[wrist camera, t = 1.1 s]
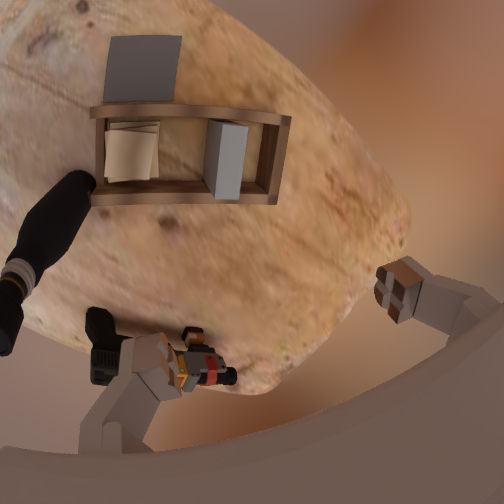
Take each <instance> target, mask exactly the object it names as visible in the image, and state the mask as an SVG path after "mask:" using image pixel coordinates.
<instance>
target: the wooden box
mask: <svg viewBox="0 0 504 504" xmlns="http://www.w3.org/2000/svg"><path fill="white" fill-rule="evenodd" d="M126 116H184V117H205V118H219V119H231V120H241V121H250V122H259V123H264V129H263V135H262V142H261V149H260V155H259V162H258V169H257V176H256V182H255V183H251V182H241V187H240V194H239V200H233V199H214V197H213V195H212V193H211V192H210V190H209V188H208V186H207V184H206V183H205V181H125V182H111V183H109V182H107V181H106V177H104V171H105V161H106V146H105V131H107V117H126ZM93 118H97V119H96V188H95V189H94V191H93V192H92V194H91V195H90V197H91V206H107V205H134V204H264V205H277V200H278V194H279V188H280V183H281V177H282V171H283V166H284V160H285V154H286V148H287V142H288V136H289V130H290V124H291V118H292V117H291V116H285V115H280V114H273V113H267V112H260V111H252V110H244V109H235V108H225V107H213V106H199V105H177V104H131V105H109V106H96V107H90V119H93Z"/></svg>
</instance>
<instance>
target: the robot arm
mask: <svg viewBox="0 0 504 504" xmlns="http://www.w3.org/2000/svg"><path fill="white" fill-rule="evenodd" d="M376 277H377V278H378V281H377V282H376V284H375V287H374V294H375V297H376V300H377V302H378V303H379V305H380V306H381V307H383V308H386V309H388V315H389V316H390V317H391V318H392V319H393V320H394V321H395V323H396V324H399V323H401V322H403V321H406V320H408V319H410V318H412V317H413V318H414V319H416V320H418V321H421V322H423V323H425V324H427V325H429V326H431V327H433V328H436V329H437V330H440V331H442V332H444V333H446V334H448V335H450V336H449V338H448V340H447V342H446V346H445V347H444V348H442V349H441V350H439V351H438V352H436V353H435V354H433V355H432V356H430V357H428V358H427V359H425V360H423V361H422V362H420V363H418V364H417V365H415V366H414V367H412V368H410V369H408V370H407V371H405V372H403V373H401V374H399V375H397V376H396V377H394V378H392V379H390V380H388V381H386V382H384V383H382V384H380V385H378V386H376V387H374V388H372V389H370V390H368V391H366V392H364V393H362V394H360V395H358V396H355V397H353V398H351V399H349V400H347V401H344V402H342V403H340V404H338V405H335V406H332V407H330V408H327V409H325V410H323V411H320V412H317V413H315V414H312V415H309V416H307V417H304V418H301V419H298V420H295V421H292V422H289V423H286V424H283V425H280V426H277V427H274V428H270V429H267V430H264V431H260V432H256V433H253V434H249V435H245V436H242V437H237V438H233V439H229V440H224V441H219V442H215V443H210V444H204V445H199V446H193V447H187V448H181V449H173V450H165V451H157V452H155V451H153V450H152V449H151V448H150V447H148V446H147V445H146V444H144V443H143V442H142V440H143V438H144V436H145V434H146V432H147V430H148V427H149V425H150V423H151V421H152V419H153V417H154V415H155V412H156V410H157V408H158V406H159V404H160V402H161V401H166V400H170V399H175V398H179V397H182V394H181V384H180V381H179V379H178V377H177V375H178V373H179V365H178V361H177V357H176V355H175V352H174V350H173V348H172V347H170V346H168V339H167V337H166V336H165V334H164V333H163V332H160V333H155V334H150V335H145V336H140V337H136V338H131V339H126V340H124V341H123V342H122V346H121V354H120V363H119V373H118V376H115V377H114V378H113V379H112V381H111V382H110V383H109V385H108V386H107V387H106V389H105V390H104V391H103V393H102V394H101V395H100V397H99V398H98V399H97V401H96V402H95V404H94V405H93V407H92V408H91V409H90V410H89V412H88V413H87V415H86V416H85V417H84V419H83V420H82V422H81V424H80V434H79V448H78V454H65V453H53V452H43V451H35V450H27V449H22V448H16V447H10V446H5V447H2V448H1V449H0V504H504V302H503V303H500V302H498V301H497V300H496V299H495V298H494V297H493V296H492V295H491V294H489V293H488V292H487V291H486V290H485V289H484V288H482V287H478V286H475V285H471V284H468V283H465V282H461V281H458V280H454V279H451V278H447V277H443V276H440V275H433V274H431V273H430V272H429V271H428V270H427V269H425V268H424V267H423V266H422V265H420V264H419V263H418V262H417V261H415V260H414V259H413V258H411V257H409V256H406V257H403V258H401V259H398V260H396V261H394V262H391V263H388V264H386V265H383V266H381V267H378V269H377V271H376Z"/></svg>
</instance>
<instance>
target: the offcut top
mask: <svg viewBox="0 0 504 504" xmlns="http://www.w3.org/2000/svg"><path fill="white" fill-rule="evenodd" d="M156 133H157V132H150V131H139V130H126V129H110V130H109V135H108V143H107V151H106V161H105V171H104V177H113V178H128V179H141V180H149V177H150V170H151V163H152V156H153V150H154V144H155V138H156Z"/></svg>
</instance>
